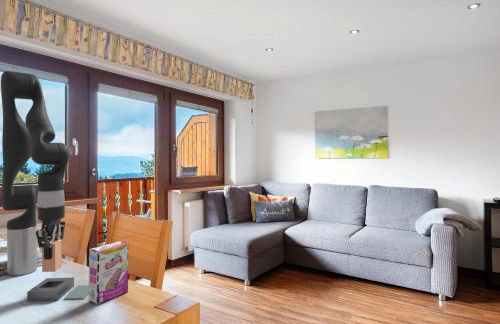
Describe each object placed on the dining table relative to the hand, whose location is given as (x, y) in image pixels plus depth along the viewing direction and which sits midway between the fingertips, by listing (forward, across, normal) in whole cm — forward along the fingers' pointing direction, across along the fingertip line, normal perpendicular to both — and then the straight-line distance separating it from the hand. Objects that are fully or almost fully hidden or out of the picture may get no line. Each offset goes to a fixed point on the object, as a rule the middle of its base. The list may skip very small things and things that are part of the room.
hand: (51, 256), depth 105 cm
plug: (+4, 0, 0) cm, 4 cm away
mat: (+12, 0, +9) cm, 15 cm away
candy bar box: (+12, +4, +20) cm, 23 cm away
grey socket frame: (+12, 0, 0) cm, 12 cm away
